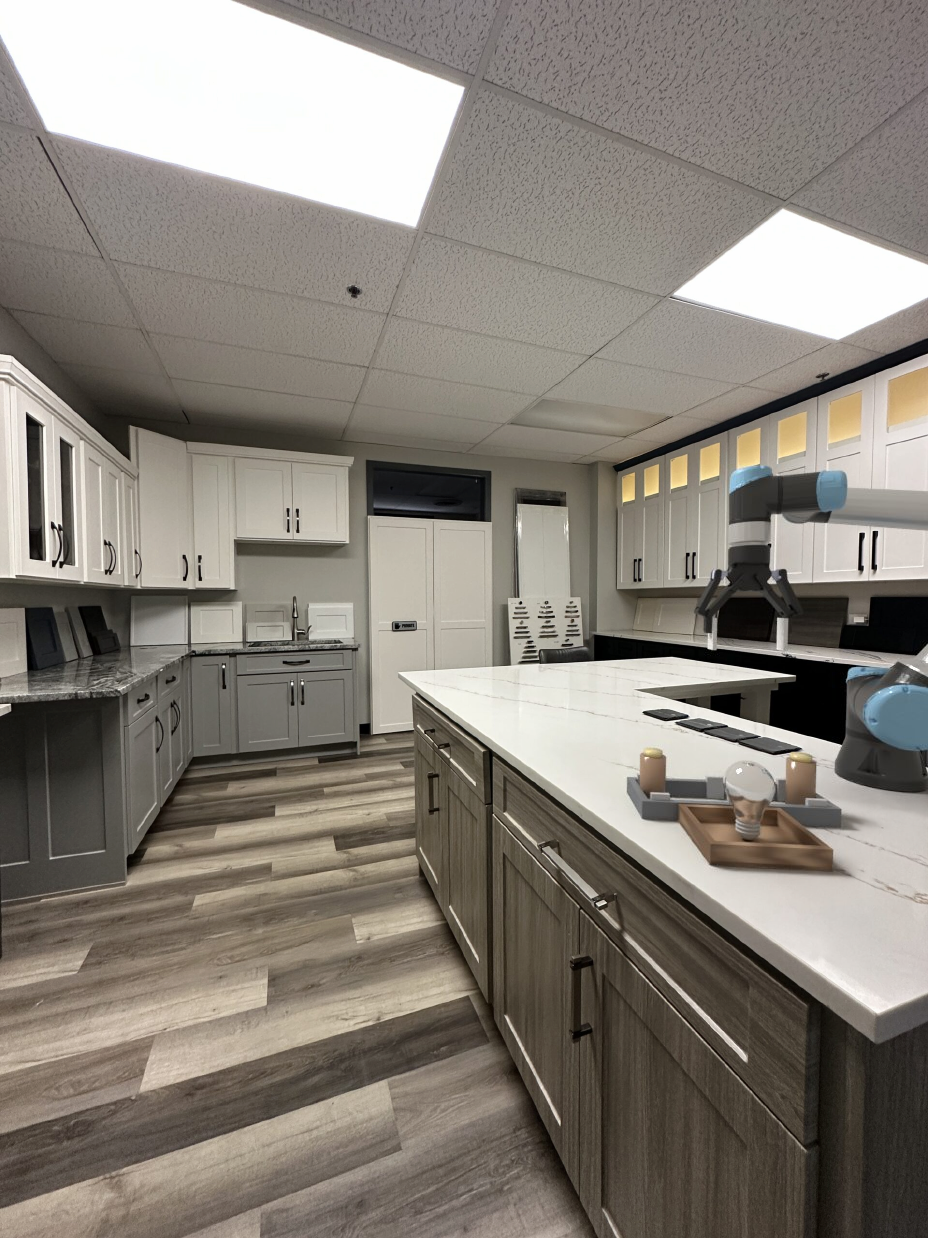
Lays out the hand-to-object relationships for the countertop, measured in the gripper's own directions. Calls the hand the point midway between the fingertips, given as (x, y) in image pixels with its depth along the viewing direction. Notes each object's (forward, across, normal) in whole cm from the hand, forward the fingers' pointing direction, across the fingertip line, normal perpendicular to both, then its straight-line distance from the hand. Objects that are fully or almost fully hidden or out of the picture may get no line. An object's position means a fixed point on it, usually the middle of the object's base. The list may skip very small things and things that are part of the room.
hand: (746, 650), depth 104 cm
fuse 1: (+27, +22, +16) cm, 38 cm away
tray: (+27, +12, +30) cm, 42 cm away
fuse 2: (+27, -2, +16) cm, 31 cm away
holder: (+27, +10, +16) cm, 33 cm away
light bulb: (+26, +12, +29) cm, 41 cm away
